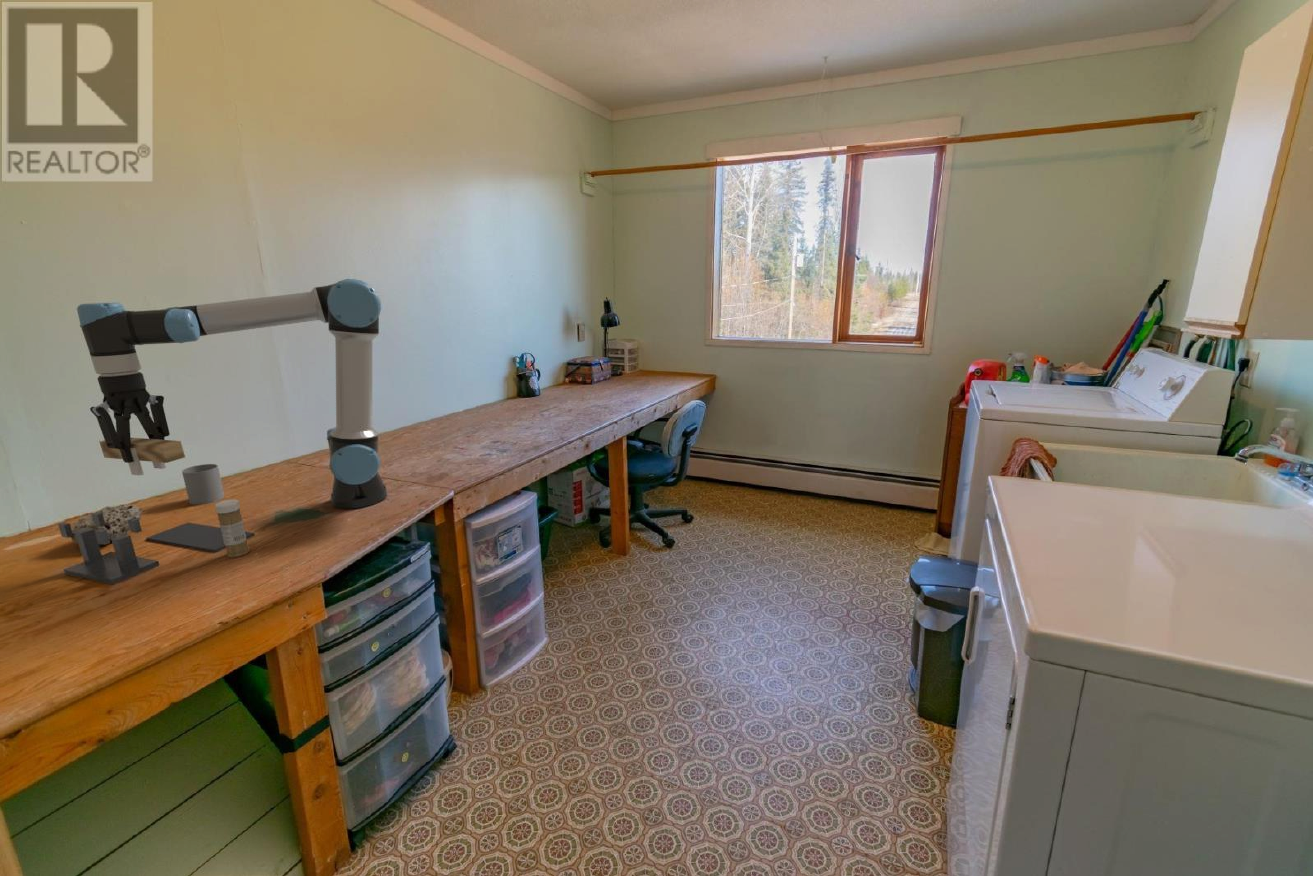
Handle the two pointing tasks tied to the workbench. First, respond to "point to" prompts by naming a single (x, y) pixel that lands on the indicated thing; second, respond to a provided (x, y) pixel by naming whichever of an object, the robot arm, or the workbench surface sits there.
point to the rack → (110, 564)
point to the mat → (194, 537)
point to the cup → (203, 484)
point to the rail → (149, 450)
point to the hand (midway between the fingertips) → (149, 471)
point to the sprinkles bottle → (232, 528)
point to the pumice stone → (109, 521)
